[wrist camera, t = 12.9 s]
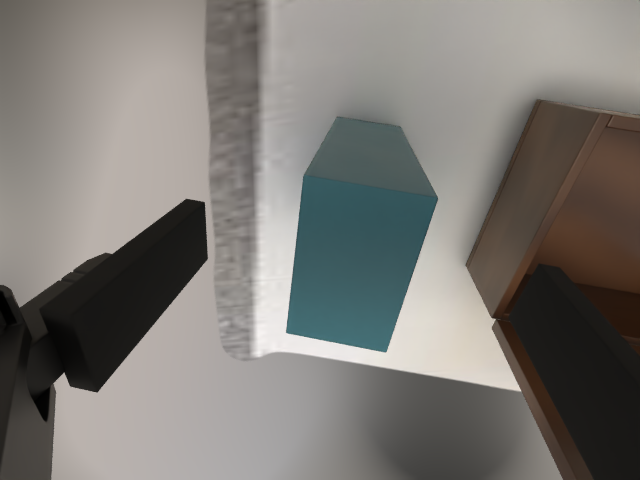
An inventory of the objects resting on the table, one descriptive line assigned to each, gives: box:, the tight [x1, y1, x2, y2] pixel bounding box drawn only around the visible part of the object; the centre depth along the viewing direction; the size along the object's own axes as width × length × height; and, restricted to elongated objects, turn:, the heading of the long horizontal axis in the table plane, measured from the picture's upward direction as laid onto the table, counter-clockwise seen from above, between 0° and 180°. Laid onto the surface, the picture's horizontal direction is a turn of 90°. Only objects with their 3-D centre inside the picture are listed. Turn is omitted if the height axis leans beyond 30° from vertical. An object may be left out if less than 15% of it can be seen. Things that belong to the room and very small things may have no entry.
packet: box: [286, 117, 438, 352], centre depth 19 cm, size 8×5×14 cm, turn 172°
